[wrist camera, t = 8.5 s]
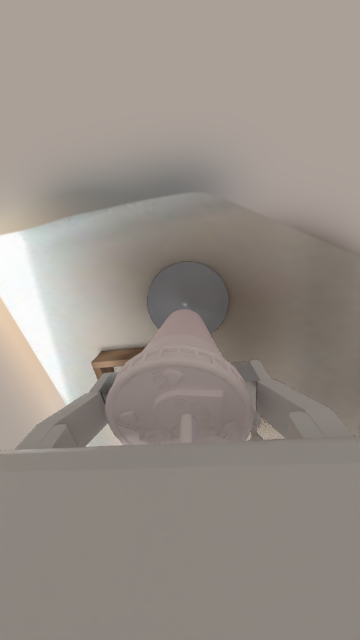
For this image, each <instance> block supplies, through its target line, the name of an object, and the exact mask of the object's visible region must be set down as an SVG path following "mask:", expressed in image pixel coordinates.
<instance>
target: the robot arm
mask: <svg viewBox="0 0 360 640" xmlns="http://www.w3.org/2000/svg"><path fill="white" fill-rule="evenodd" d="M230 364H231V365H233V366H234V367H235V368H236V370H237V371H238V372H239V374H240V375H241V376H242V378H243V379H244V381H245V384H246V387H247V390H248V393H249V396H250V399H251V401H252V404H253V408H254V411H256V412H258V413H259V414H260V415H261V416H262V417H263V418H264V419H265V420H266V421H267V422H268V423H269V424H270V425H272V426H273V427H274V428H275V429H276V430H277V431H278V432H279V433H280V434H281V435H282V436H283V437H284V438H286V439H272V440H248V441H222V442H196V443H171V444H146V445H122V446H97V447H85V446H86V445H87V444H88V443H89V442H90V441H91V440H92V439H93V438H94V437H95V436H96V435H97V434H98V433H99V432H100V431H101V430H102V429H103V428H104V427H105V426H106V424H107V423H108V421H107V418H106V412H105V404H106V398H107V395H108V392H109V390H110V388H111V387H112V385H113V383H114V380H115V378H116V375H117V373H118V372H113V373H112V372H110V373H104V374H102V375H101V377H100V378H99V379H98V381H97V382H96V384H95V385H94V386H93V388H92V389H91V390H90V392H89V393H86V394H84V395H83V396H81V397H79V398H78V399H76V400H75V401H73V402H72V403H70V404H69V405H67V406H65V407H64V408H63V409H61V410H59V411H58V412H56V413H55V414H53V415H52V416H50V417H48V418H47V419H45V420H44V421H42V422H41V423H39V424H38V425H36V426H35V428H34V429H33V430H32V431H31V432H30V433H29V434H28V435H27V436H26V438H25V439H24V440H23V441H22V442H21V443H20V444H19V445H18V446H17V448H16V449H15V450H0V640H360V436H355V435H354V434H353V433H352V432H351V430H350V429H349V428H348V427H347V426H346V425H345V424H344V423H343V422H342V421H341V420H340V418H339V417H338V416H337V415H336V414H335V413H334V412H333V411H332V410H331V409H330V408H328V407H326V406H324V405H322V404H321V403H319V402H317V401H315V400H313V399H311V398H309V397H307V396H305V395H304V394H302V393H300V392H298V391H296V390H294V389H292V388H290V387H288V386H287V385H285V384H283V383H281V382H279V381H277V380H275V379H274V380H272V379H271V377H270V376H269V374H268V373H267V371H266V370H265V368H264V367H263V365H262V364H261V362H260V361H259V360H250V361H243V362H232V363H230Z"/></svg>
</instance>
